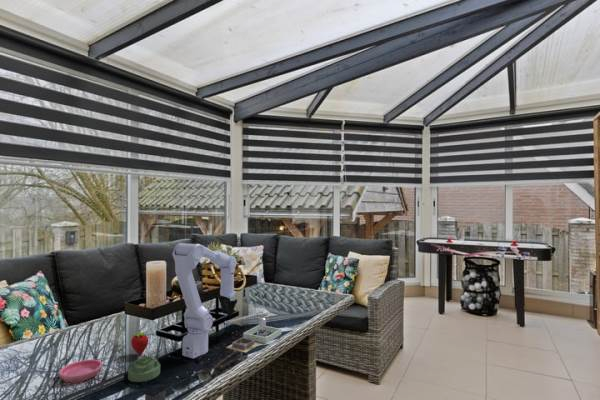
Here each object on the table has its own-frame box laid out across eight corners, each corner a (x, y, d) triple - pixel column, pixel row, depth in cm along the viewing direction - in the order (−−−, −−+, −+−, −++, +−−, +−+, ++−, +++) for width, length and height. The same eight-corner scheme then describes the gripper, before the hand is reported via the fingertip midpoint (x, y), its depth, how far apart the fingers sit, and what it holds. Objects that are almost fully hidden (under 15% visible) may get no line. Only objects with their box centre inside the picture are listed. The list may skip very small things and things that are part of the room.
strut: (268, 337, 147) (269, 318, 147) (260, 339, 144) (260, 320, 145) (263, 334, 150) (264, 316, 151) (255, 336, 148) (255, 317, 148)
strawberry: (135, 360, 126) (135, 333, 126) (128, 354, 131) (128, 328, 131) (151, 355, 130) (151, 329, 130) (143, 350, 135) (144, 325, 135)
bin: (266, 345, 139) (266, 338, 139) (243, 340, 145) (243, 333, 145) (281, 335, 150) (281, 329, 150) (259, 331, 156) (259, 324, 156)
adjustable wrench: (226, 326, 164) (226, 322, 164) (220, 322, 169) (220, 319, 169) (270, 316, 179) (269, 312, 179) (263, 313, 184) (263, 309, 184)
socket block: (245, 354, 131) (245, 348, 131) (225, 349, 135) (226, 343, 135) (260, 345, 139) (260, 339, 139) (241, 340, 144) (241, 335, 144)
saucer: (109, 368, 120) (110, 359, 120) (86, 386, 108) (86, 376, 108) (76, 367, 121) (76, 358, 121) (49, 385, 108) (49, 375, 108)
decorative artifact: (161, 377, 113) (158, 365, 122) (161, 356, 113) (158, 346, 122) (128, 385, 108) (127, 372, 117) (128, 363, 108) (127, 351, 117)
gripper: (241, 284, 145) (241, 316, 145) (230, 278, 157) (230, 308, 157) (225, 286, 141) (225, 319, 141) (215, 280, 154) (215, 310, 153)
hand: (227, 313), depth 149 cm, fingers open, 7 cm apart
